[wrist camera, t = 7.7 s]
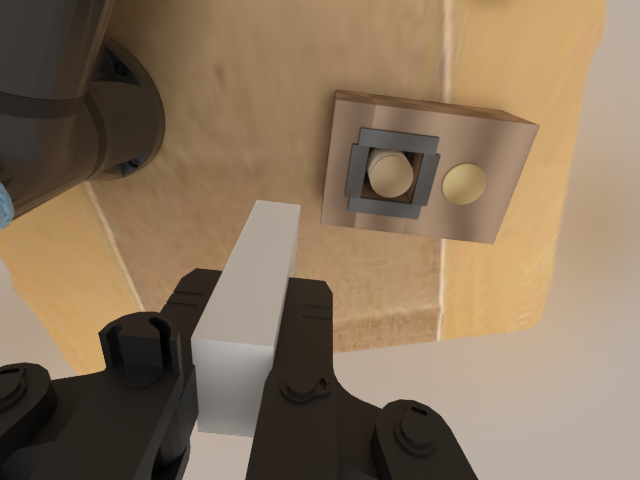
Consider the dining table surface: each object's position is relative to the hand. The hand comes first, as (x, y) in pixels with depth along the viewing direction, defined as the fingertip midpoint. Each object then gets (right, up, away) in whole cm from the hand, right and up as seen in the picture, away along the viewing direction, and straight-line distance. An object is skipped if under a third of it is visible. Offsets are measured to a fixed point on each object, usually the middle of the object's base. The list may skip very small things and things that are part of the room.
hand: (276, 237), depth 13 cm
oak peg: (+8, +10, +28) cm, 31 cm away
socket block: (+11, +10, +29) cm, 32 cm away
